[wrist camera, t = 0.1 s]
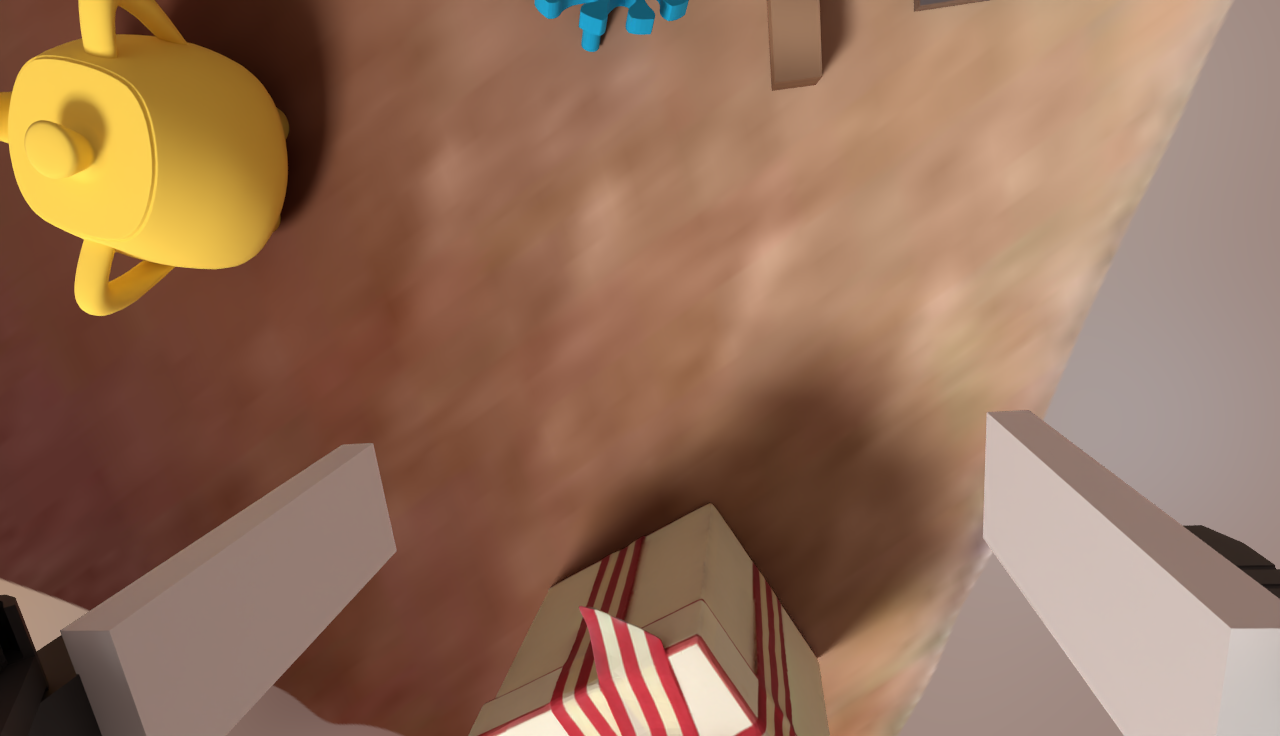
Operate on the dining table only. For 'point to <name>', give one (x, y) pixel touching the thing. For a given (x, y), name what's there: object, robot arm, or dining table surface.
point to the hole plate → (939, 3)
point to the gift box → (662, 648)
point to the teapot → (145, 152)
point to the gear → (601, 4)
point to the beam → (794, 43)
